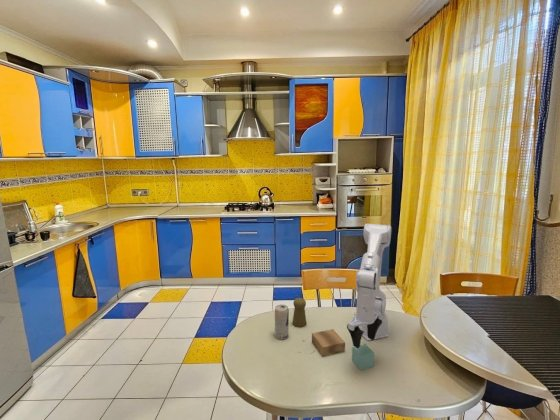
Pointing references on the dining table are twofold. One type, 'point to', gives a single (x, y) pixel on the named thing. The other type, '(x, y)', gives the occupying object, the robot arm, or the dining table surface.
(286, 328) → the energy drink
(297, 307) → the cork
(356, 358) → the teal cube
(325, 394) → the dining table surface
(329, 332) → the walnut block
